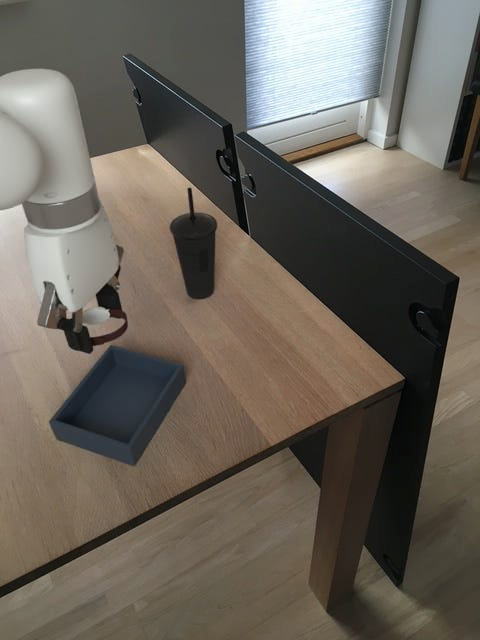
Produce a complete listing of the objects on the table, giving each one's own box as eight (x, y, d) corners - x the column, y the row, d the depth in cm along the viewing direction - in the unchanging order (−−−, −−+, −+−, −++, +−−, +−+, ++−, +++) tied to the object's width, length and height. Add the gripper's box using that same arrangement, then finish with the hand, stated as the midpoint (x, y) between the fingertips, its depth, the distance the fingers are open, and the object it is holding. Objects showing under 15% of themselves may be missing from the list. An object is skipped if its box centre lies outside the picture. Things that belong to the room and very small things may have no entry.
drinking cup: (228, 281, 97) (221, 180, 84) (212, 308, 92) (203, 204, 78) (189, 274, 99) (176, 174, 86) (172, 300, 94) (155, 197, 80)
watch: (127, 317, 70) (122, 295, 67) (132, 340, 66) (127, 318, 64) (66, 329, 68) (59, 307, 66) (68, 354, 65) (61, 332, 62)
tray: (134, 466, 69) (129, 449, 66) (56, 439, 73) (48, 421, 70) (186, 382, 79) (183, 364, 77) (115, 362, 83) (110, 344, 80)
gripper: (80, 162, 62) (109, 285, 74) (-28, 239, 50) (28, 371, 62) (136, 171, 60) (157, 297, 72) (37, 254, 48) (82, 389, 60)
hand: (97, 330), depth 67 cm, fingers closed on watch, 6 cm apart
